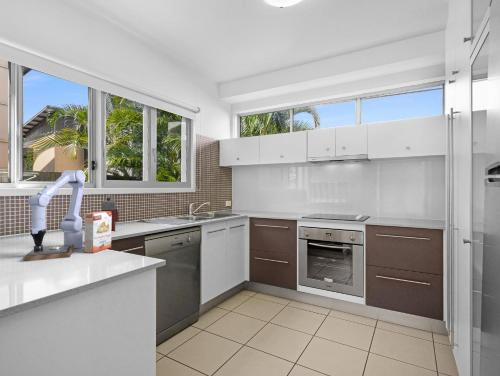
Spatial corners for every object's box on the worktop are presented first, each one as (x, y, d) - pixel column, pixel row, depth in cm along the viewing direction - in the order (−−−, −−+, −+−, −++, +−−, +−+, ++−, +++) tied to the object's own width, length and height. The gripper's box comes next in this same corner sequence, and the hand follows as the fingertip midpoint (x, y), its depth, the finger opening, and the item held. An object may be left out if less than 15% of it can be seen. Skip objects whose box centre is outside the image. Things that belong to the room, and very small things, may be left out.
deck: (70, 246, 148) (70, 240, 148) (66, 252, 136) (66, 245, 136) (36, 249, 141) (35, 243, 141) (29, 255, 130) (28, 249, 130)
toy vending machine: (118, 231, 211) (118, 194, 211) (102, 232, 205) (102, 195, 205) (117, 229, 219) (117, 194, 218) (101, 230, 213) (101, 194, 213)
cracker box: (93, 253, 143) (93, 213, 143) (83, 252, 145) (83, 213, 144) (112, 247, 157) (112, 211, 157) (102, 247, 158) (103, 210, 158)
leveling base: (73, 250, 150) (73, 244, 150) (69, 257, 136) (69, 250, 136) (32, 253, 142) (32, 247, 142) (23, 261, 128) (23, 254, 128)
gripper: (32, 217, 141) (32, 243, 141) (24, 220, 128) (23, 249, 128) (49, 217, 144) (49, 242, 144) (42, 220, 131) (42, 248, 131)
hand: (38, 246), depth 136 cm, fingers closed, pressing on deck
